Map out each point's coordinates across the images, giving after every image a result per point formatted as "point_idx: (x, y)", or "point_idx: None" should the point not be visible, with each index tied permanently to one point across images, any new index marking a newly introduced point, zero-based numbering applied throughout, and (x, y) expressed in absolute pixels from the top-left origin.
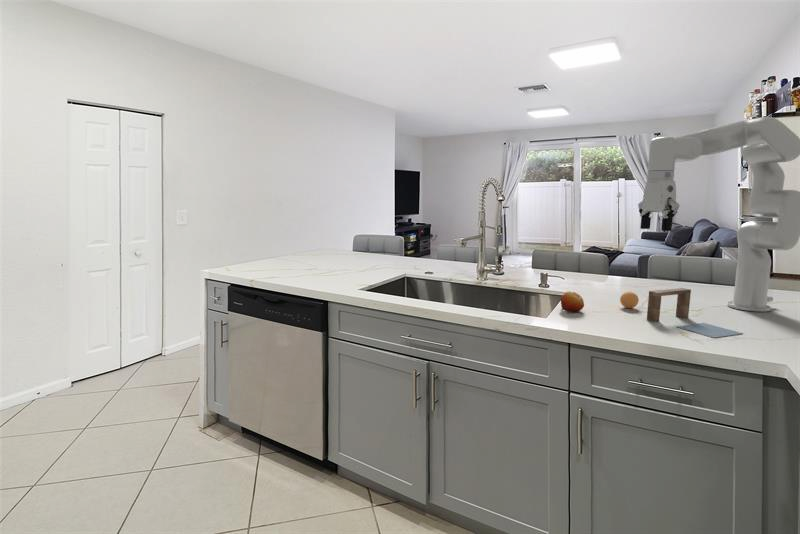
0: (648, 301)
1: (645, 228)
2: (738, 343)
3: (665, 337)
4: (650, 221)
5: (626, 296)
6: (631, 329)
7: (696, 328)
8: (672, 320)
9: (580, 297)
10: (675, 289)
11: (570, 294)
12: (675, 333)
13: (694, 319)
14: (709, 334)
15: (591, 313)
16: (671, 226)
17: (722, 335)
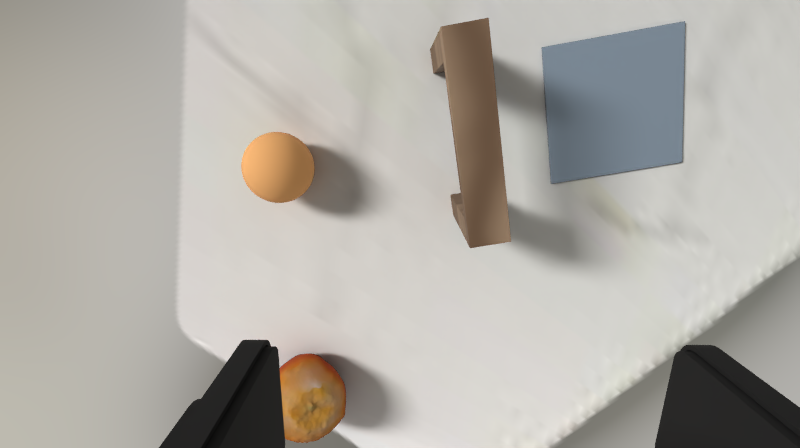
0: (463, 233)
1: (280, 405)
2: (742, 132)
3: (624, 290)
4: (232, 421)
5: (290, 196)
6: (533, 328)
7: (591, 136)
8: None
9: (322, 398)
10: (467, 99)
11: (310, 433)
12: (604, 236)
13: None
14: (654, 149)
15: (346, 334)
16: (756, 383)
17: (676, 117)
